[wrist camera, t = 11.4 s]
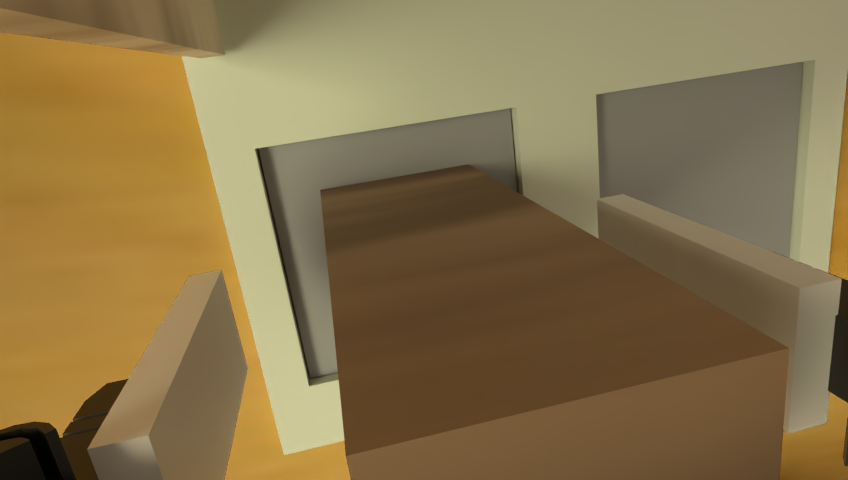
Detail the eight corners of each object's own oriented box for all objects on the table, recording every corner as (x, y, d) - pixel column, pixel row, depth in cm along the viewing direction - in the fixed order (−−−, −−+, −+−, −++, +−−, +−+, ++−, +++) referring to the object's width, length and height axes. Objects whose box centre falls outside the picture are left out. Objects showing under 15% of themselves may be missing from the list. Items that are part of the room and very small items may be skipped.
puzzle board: (48, -486, 11) (35, -515, 11) (880, -484, 14) (904, -507, 14) (284, 443, 19) (284, 454, 18) (809, 319, 22) (823, 326, 21)
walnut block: (320, 189, 16) (346, 455, 5) (468, 164, 17) (789, 348, 6) (347, 328, 18) (415, 780, 6) (483, 299, 18) (764, 664, 7)
